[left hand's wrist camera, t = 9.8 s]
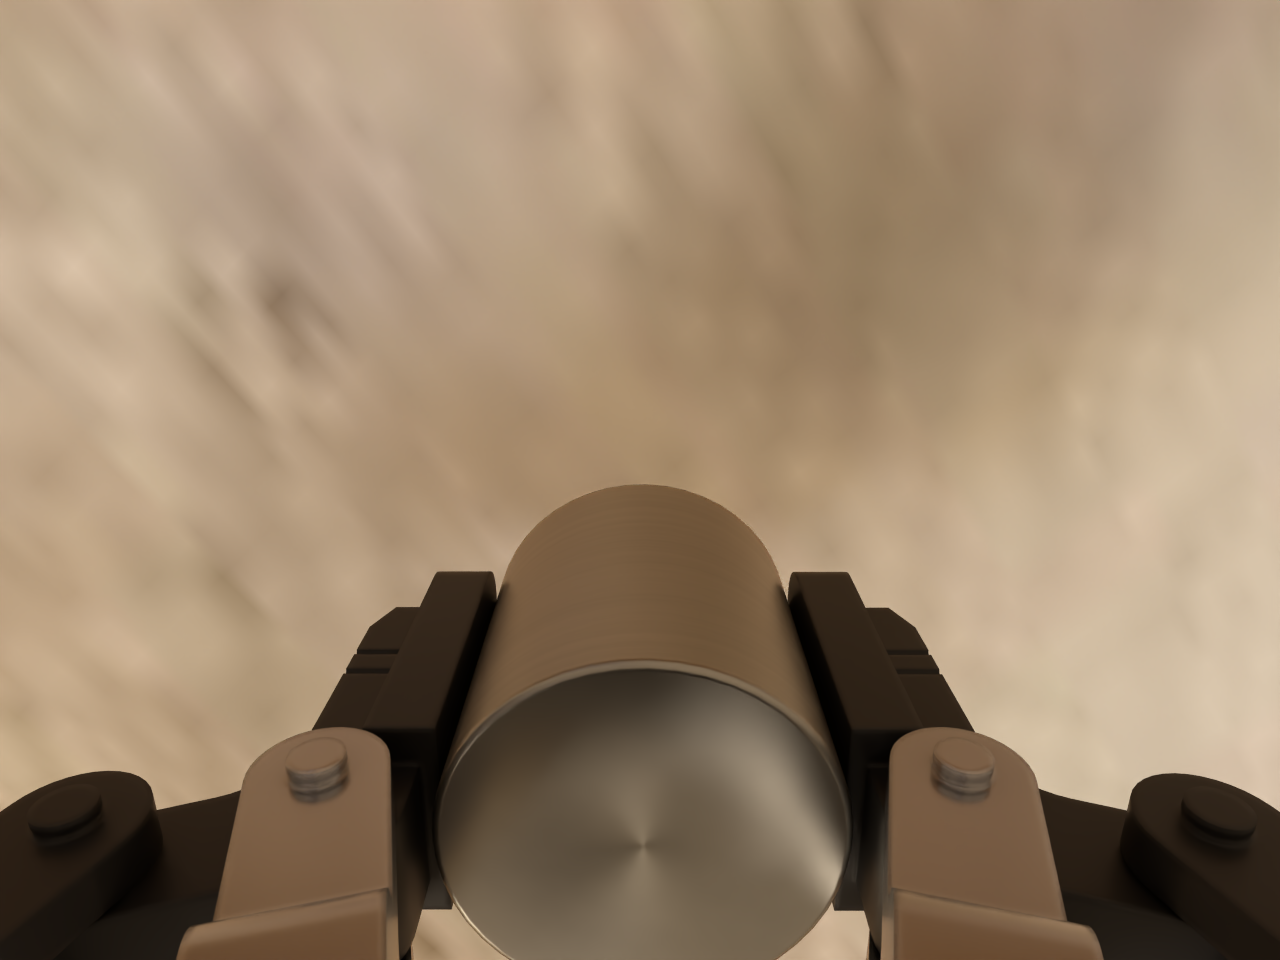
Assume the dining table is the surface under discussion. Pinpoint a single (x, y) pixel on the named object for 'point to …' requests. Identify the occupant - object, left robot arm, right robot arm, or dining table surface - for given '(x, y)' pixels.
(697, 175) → the dining table surface
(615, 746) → the canister
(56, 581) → the dining table surface
